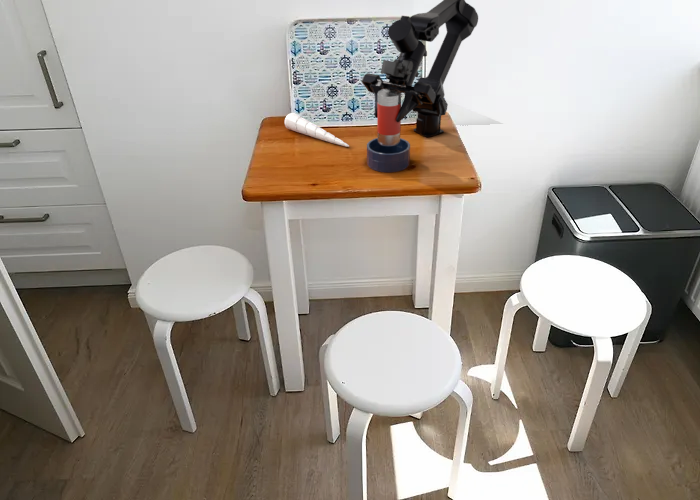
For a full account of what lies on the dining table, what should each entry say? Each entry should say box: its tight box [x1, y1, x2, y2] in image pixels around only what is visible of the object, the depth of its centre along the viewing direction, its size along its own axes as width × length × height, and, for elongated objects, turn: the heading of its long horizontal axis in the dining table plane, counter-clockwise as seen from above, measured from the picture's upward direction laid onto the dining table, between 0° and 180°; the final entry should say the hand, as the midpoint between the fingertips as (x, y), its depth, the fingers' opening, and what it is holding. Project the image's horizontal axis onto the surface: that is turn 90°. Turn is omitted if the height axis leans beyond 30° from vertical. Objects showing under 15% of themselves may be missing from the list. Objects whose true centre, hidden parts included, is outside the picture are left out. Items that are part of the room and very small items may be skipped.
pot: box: [366, 137, 411, 173], centre depth 151 cm, size 11×11×5 cm
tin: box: [376, 89, 402, 146], centre depth 145 cm, size 6×6×13 cm
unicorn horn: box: [284, 112, 350, 148], centre depth 165 cm, size 5×24×5 cm, turn 46°
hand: (386, 119), depth 144 cm, fingers closed on tin, 6 cm apart
